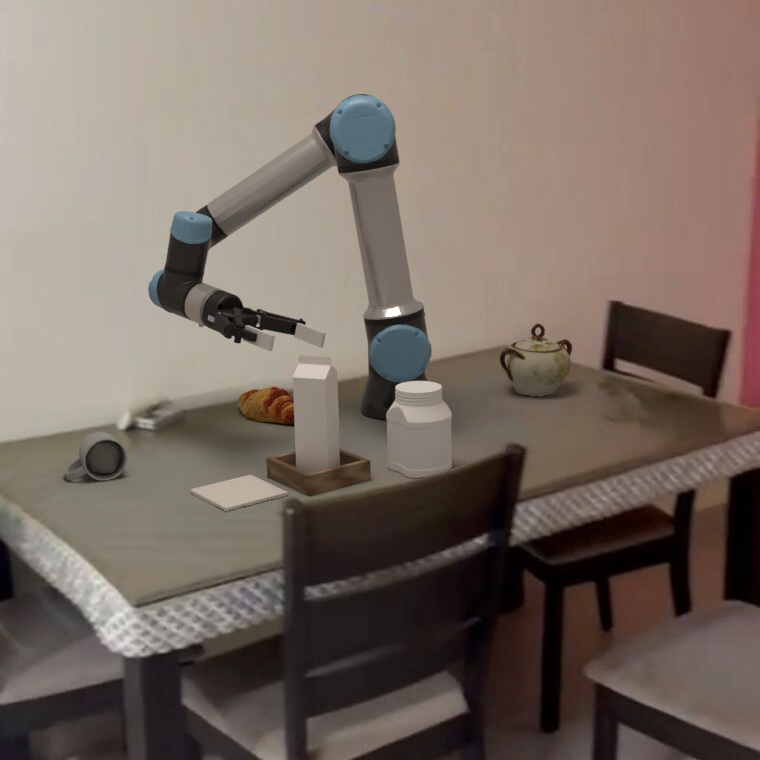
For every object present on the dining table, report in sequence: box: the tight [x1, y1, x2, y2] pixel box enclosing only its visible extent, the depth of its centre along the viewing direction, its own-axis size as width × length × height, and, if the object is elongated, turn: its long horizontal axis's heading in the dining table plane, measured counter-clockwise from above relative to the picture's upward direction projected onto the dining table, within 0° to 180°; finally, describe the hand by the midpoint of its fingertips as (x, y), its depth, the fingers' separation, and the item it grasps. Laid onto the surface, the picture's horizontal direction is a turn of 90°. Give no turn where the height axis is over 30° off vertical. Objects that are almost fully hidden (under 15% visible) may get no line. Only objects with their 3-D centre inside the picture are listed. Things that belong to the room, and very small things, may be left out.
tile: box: [189, 474, 289, 512], centre depth 211 cm, size 12×12×1 cm
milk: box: [292, 354, 341, 473], centre depth 216 cm, size 6×6×22 cm
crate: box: [266, 448, 372, 497], centre depth 218 cm, size 13×13×4 cm
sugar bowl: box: [499, 323, 573, 397], centre depth 270 cm, size 20×15×15 cm
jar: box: [386, 380, 453, 479], centre depth 221 cm, size 12×10×15 cm
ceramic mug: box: [62, 431, 128, 482], centre depth 222 cm, size 11×8×8 cm
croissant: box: [237, 385, 295, 425], centre depth 257 cm, size 21×10×8 cm, turn 42°
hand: (298, 341), depth 221 cm, fingers open, 13 cm apart
